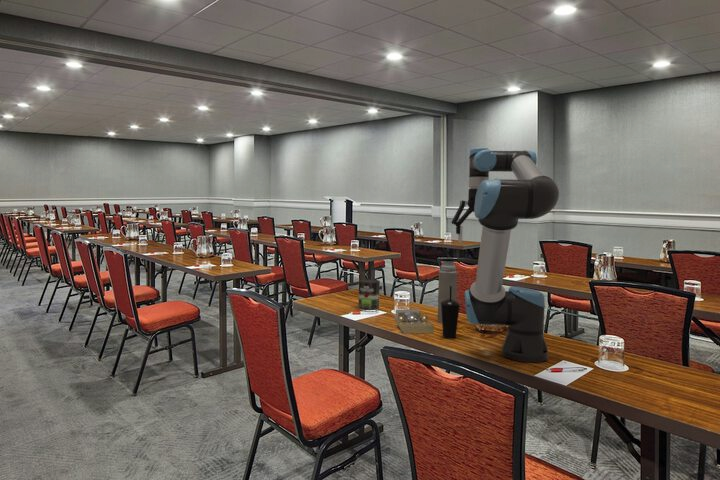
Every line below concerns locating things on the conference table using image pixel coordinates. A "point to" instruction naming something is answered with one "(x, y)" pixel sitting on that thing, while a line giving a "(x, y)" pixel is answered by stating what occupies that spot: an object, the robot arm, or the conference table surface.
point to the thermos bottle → (446, 283)
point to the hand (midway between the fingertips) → (476, 242)
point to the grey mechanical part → (409, 315)
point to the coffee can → (369, 294)
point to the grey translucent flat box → (415, 326)
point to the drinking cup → (450, 316)
